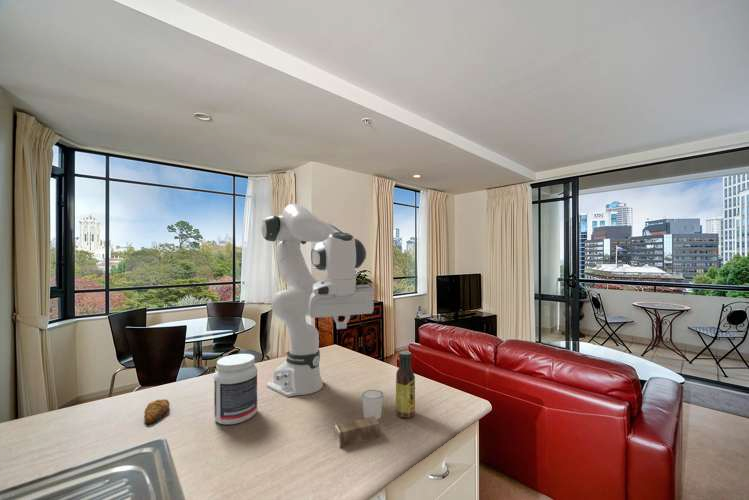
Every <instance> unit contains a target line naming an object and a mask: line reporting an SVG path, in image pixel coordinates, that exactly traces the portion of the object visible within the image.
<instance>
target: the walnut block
mask: <svg viewBox="0 0 749 500" xmlns="http://www.w3.org/2000/svg"><path fill="white" fill-rule="evenodd" d="M380 425H381V424H380V422H379V420H377V419H376V418H375V417H370V418H365V417H364V418H361V419H357V420H352V421H347V422H343V423H338V424H335V425H334V439H335V442H336V444H337V446H338V448H343V447H346V446H350V445H354V444H359V443H363V442H365V441H366V442H367V441H371V440H375V439H378V438H380V437H381V436H380V431H381V430H380V427H381V426H380Z"/></svg>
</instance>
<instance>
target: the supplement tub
mask: <svg viewBox="0 0 749 500" xmlns="http://www.w3.org/2000/svg"><path fill="white" fill-rule="evenodd" d="M255 359H256V358H255V355H254V354H251V353H236V354H231V355H226V356H224V357H223V356H222V357H221V358H220V359H218V360H217V361H216V369H217V370H216V371H215V373H214V377H213V380H214V381H213V382H214V385H213V387H214V389H213V391H214V392H213V393H214V394H213V396H214V397H213V399H214V400H213V402H214V405H213V406H214V410H213V412H214V413H213V414H214V415H213V416H214V417H213V418H214V420H215V421H216V422H217V423H218V424H221V425H236V424H239V423H243V422H246V421H247V420H250V419H251V418H252V417H253V416H254V415H256V413H257V410H258V368H257V366H256V365H255V363H256V360H255Z"/></svg>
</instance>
